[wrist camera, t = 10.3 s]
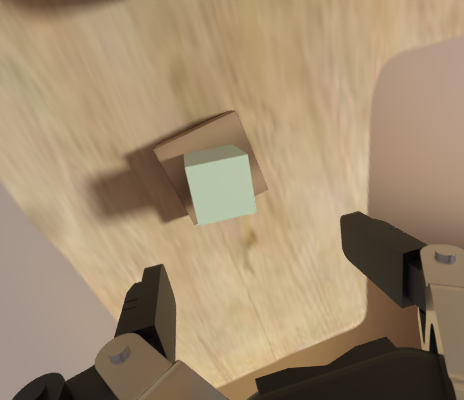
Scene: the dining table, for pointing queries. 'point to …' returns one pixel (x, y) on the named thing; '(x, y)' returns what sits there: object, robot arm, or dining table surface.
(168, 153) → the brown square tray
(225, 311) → the dining table surface
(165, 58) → the dining table surface
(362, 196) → the dining table surface
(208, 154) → the green block
